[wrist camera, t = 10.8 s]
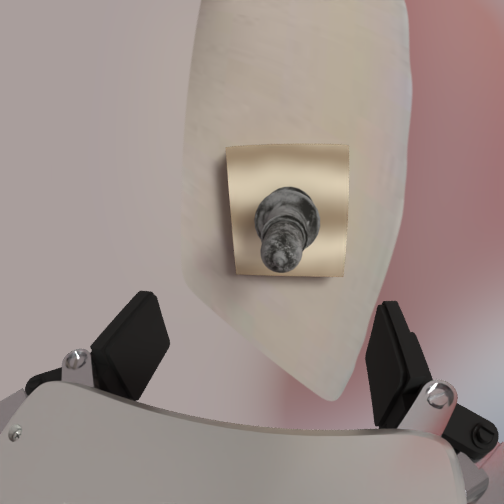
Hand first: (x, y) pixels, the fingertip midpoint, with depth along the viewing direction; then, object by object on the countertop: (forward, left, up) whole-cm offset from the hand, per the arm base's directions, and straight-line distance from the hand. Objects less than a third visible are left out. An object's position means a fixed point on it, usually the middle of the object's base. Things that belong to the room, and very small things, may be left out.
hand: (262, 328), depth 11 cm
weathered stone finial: (0, 0, -18) cm, 18 cm away
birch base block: (0, 0, -21) cm, 21 cm away
